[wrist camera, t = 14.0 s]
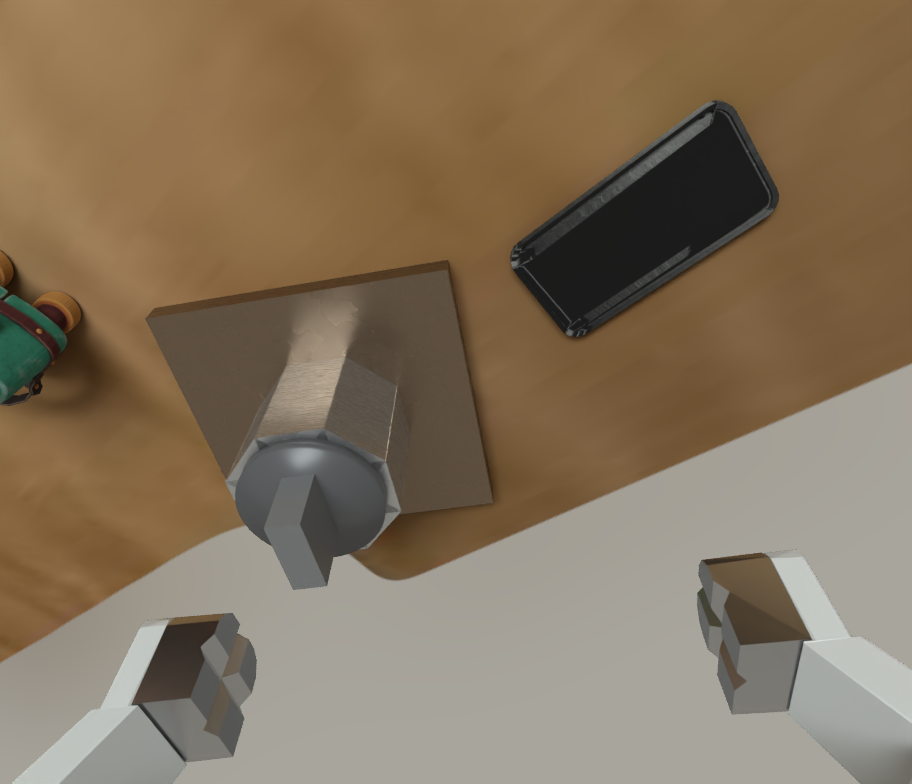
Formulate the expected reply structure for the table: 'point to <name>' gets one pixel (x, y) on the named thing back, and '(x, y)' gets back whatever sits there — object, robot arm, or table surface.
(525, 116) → the table surface
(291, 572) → the grey dial knob
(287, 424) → the square base plate
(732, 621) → the robot arm
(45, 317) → the binoculars
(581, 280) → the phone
